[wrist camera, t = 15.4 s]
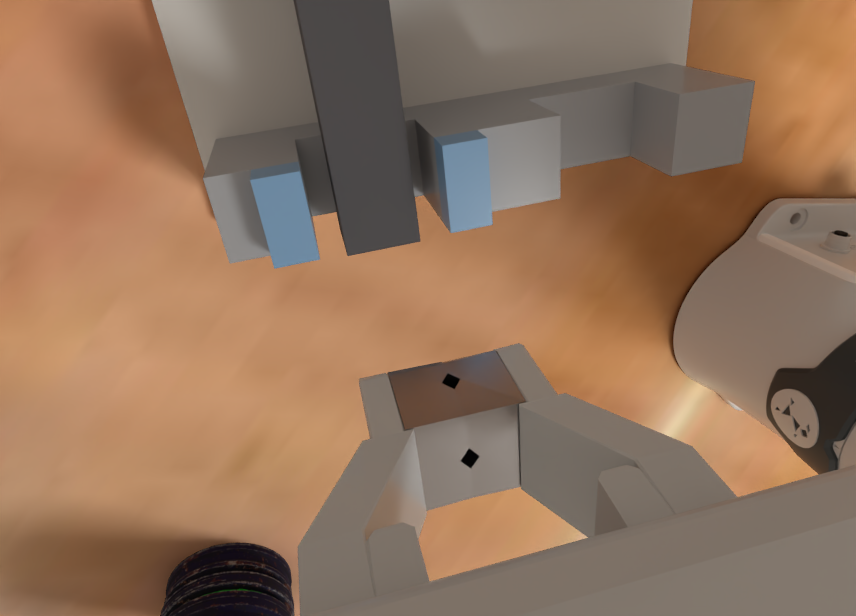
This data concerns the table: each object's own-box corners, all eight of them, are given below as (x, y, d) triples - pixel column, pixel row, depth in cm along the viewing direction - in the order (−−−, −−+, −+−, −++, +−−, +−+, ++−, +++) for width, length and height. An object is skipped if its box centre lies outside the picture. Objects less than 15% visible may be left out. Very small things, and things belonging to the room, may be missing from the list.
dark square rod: (334, -293, 22) (345, -337, 19) (405, 215, 32) (420, 241, 29) (235, -286, 21) (229, -330, 18) (340, 228, 31) (347, 256, 28)
